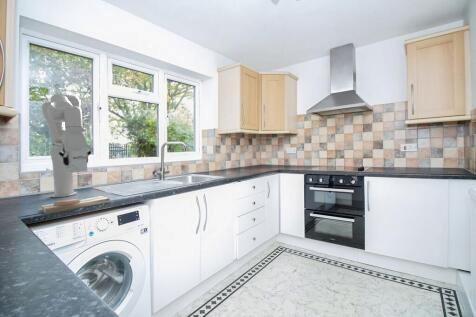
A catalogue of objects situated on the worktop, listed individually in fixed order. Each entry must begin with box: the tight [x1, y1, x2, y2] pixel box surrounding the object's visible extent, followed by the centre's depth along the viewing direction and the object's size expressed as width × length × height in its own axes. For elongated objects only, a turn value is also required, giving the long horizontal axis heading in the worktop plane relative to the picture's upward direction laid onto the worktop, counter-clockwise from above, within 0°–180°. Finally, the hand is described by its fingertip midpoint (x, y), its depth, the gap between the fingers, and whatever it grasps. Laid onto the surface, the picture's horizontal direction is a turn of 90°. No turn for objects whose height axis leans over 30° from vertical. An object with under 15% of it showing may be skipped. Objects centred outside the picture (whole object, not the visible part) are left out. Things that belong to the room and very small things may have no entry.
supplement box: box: [64, 148, 88, 174], centre depth 121 cm, size 7×7×13 cm
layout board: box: [40, 195, 111, 215], centre depth 115 cm, size 11×26×3 cm, turn 139°
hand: (76, 164), depth 121 cm, fingers closed on supplement box, 8 cm apart
